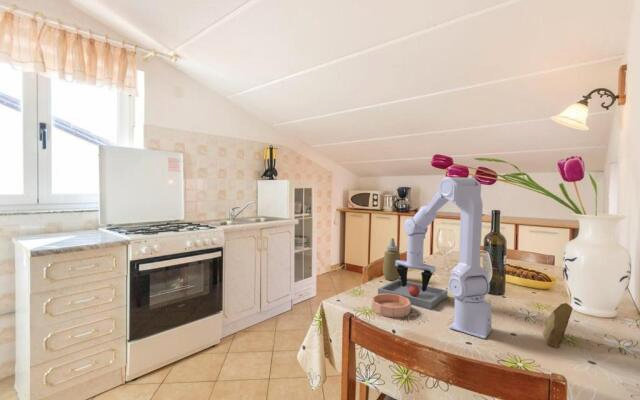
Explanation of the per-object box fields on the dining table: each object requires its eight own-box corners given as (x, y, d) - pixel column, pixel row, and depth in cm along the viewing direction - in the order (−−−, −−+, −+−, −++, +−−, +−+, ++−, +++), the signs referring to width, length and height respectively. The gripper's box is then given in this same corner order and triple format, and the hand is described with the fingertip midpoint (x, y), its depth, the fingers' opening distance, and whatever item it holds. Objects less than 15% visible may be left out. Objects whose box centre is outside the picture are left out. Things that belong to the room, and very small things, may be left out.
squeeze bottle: (403, 281, 131) (404, 240, 130) (384, 281, 131) (385, 240, 130) (398, 276, 139) (399, 237, 138) (380, 276, 139) (381, 236, 138)
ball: (421, 295, 113) (421, 285, 113) (416, 298, 110) (417, 287, 110) (411, 293, 115) (411, 282, 115) (406, 295, 112) (406, 285, 112)
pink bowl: (416, 308, 102) (416, 299, 102) (398, 321, 92) (398, 310, 92) (383, 299, 110) (383, 290, 110) (364, 310, 100) (364, 300, 100)
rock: (569, 346, 74) (592, 333, 78) (545, 311, 79) (568, 301, 82) (533, 353, 83) (556, 341, 87) (514, 322, 87) (536, 312, 91)
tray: (447, 297, 113) (447, 290, 113) (430, 309, 101) (431, 302, 101) (397, 285, 127) (397, 279, 126) (377, 295, 115) (378, 288, 114)
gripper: (439, 253, 110) (437, 290, 111) (401, 247, 120) (400, 281, 120) (431, 256, 105) (430, 295, 105) (393, 250, 114) (392, 285, 115)
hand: (414, 288), depth 112 cm, fingers open, 7 cm apart
